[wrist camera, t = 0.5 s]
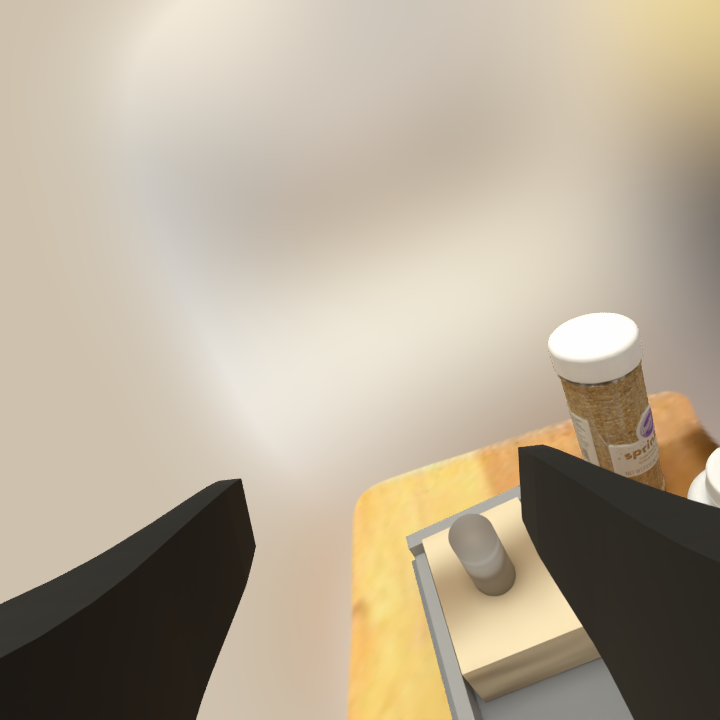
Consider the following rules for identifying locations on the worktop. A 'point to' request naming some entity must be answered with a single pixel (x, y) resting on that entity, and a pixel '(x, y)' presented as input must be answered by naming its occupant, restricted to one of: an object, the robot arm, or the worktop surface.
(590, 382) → the brown spice jar
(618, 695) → the tray
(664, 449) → the worktop surface
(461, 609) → the beige knobbed block
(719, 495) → the supplement bottle
